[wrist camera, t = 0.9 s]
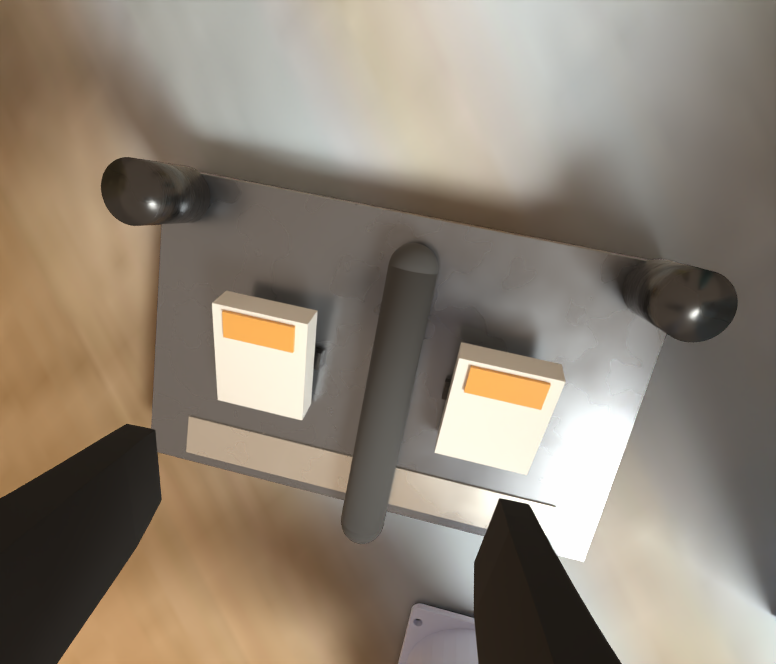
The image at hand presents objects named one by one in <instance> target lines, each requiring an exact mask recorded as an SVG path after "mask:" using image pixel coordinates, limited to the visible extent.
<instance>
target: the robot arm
mask: <svg viewBox="0 0 776 664" xmlns="http://www.w3.org/2000/svg"><path fill="white" fill-rule="evenodd" d="M161 500H162V498H161V487H160V476H159V465H158V453H157V442H156V431H155V429H150V428H145V427H140V426H135V425H130V424H126V425H124V426H122V427H121V428H119V429H117V430H115V431H114V432H112V433H110V434H109V435H107V436H105V437H104V438H102V439H100V440H99V441H97V442H95V443H94V444H92V445H90V446H89V447H87V448H85V449H84V450H82V451H80V452H79V453H77V454H75V455H74V456H72V457H70V458H69V459H67V460H65V461H64V462H62V463H60V464H59V465H57V466H55V467H54V468H52V469H50V470H49V471H47V472H45V473H43V474H42V475H40V476H38V477H37V478H35V479H33V480H32V481H30V482H28V483H26V484H25V485H23V486H21V487H20V488H18V489H16V490H14V491H13V492H11V493H9V494H7V495H6V496H4V497H2V498H0V664H57V663H58V662H59V660H60V659H61V657H62V656H63V654H64V653H65V651H66V650H67V649H68V647H69V646H70V644H71V643H72V641H73V640H74V638H75V637H76V635H77V634H78V632H79V631H80V630H81V628H82V627H83V625H84V624H85V622H86V621H87V619H88V618H89V616H90V615H91V614H92V612H93V611H94V609H95V608H96V606H97V605H98V603H99V602H100V600H101V599H102V598H103V596H104V595H105V593H106V592H107V590H108V589H109V587H110V586H111V584H112V583H113V581H114V580H115V579H116V577H117V576H118V574H119V573H120V571H121V570H122V568H123V567H124V565H125V564H126V562H127V561H128V559H129V558H130V556H131V555H132V553H133V552H134V550H135V549H136V547H137V545H138V544H139V542H140V540H141V538H142V536H143V534H144V533H145V531H146V529H147V527H148V525H149V523H150V521H151V519H152V517H153V515H154V514H155V512H156V510H157V508H158V506H159V504H160V502H161ZM416 619H420V621H419V620H416ZM398 664H622V663H621V662H620V660H619V659H618V657H617V656H616V654H615V653H614V651H613V650H612V648H611V647H610V645H609V643H608V642H607V640H606V639H605V637H604V635H603V634H602V632H601V630H600V629H599V627H598V626H597V624H596V622H595V621H594V619H593V617H592V616H591V614H590V612H589V611H588V609H587V607H586V605H585V604H584V602H583V600H582V599H581V597H580V595H579V594H578V592H577V590H576V589H575V587H574V585H573V583H572V582H571V580H570V578H569V576H568V575H567V573H566V571H565V569H564V567H563V566H562V564H561V562H560V560H559V558H558V556H557V555H556V553H555V551H554V549H553V547H552V545H551V544H550V542H549V540H548V538H547V536H546V534H545V532H544V530H543V528H542V527H541V525H540V523H539V521H538V519H537V517H536V515H535V513H534V511H533V510H532V508H531V506H530V505H529V504H527V503H522V502H517V501H512V500H507V499H502V498H499V500H498V502H497V505H496V508H495V510H494V513H493V515H492V518H491V521H490V523H489V526H488V528H487V531H486V533H485V536H484V539H483V541H482V544H481V546H480V549H479V552H478V554H477V557H476V559H475V562H474V618H472V617H468V616H465V615H461V614H457V613H454V612H450V611H446V610H443V609H439V608H435V607H432V606H428V605H425V604H419V603H418V604H415V605H413V607H412V609H411V613H410V617H409V621H408V625H407V629H406V633H405V637H404V641H403V645H402V649H401V653H400V657H399V661H398Z"/></svg>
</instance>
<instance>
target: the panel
mask: <svg viewBox="0 0 776 664" xmlns="http://www.w3.org/2000/svg"><path fill="white" fill-rule="evenodd" d="M101 192H102V197H103V200H104V203H105V205H106V207H107V208H108V210H109V211H110V213H111V214H112V215H113V216H114V217H115V218H116V219H118V220H119V221H121V222H123V223H125V224H128V225H133V226H141V225H158V224H162V226H161V246H160V266H159V286H158V306H157V326H156V346H155V366H154V386H153V405H152V425H151V429H155V431H156V442H157V452H159V453H163V454H167V455H171V456H175V457H178V458H182V459H186V460H190V461H194V462H198V463H202V464H206V465H210V466H213V467H217V468H221V469H225V470H229V471H233V472H237V473H241V474H244V475H248V476H252V477H256V478H260V479H264V480H268V481H272V482H275V483H279V484H283V485H287V486H291V487H295V488H299V489H303V490H307V491H310V492H314V493H318V494H322V495H326V496H330V497H334V498H338V499H341V500H345V495H346V490H347V484H348V479H349V474H350V468H351V463H352V458H353V452H354V447H355V442H356V436H357V431H358V425H359V420H360V415H361V409H362V404H363V399H364V393H365V388H366V382H367V377H368V372H369V366H370V361H371V356H372V350H373V345H374V340H375V334H376V329H377V323H378V318H379V313H380V307H381V302H382V297H383V291H384V286H385V281H386V275H387V270H388V264H389V261H390V258H391V256H392V254H393V253H394V252H395V251H396V250H397V249H398V248H399V247H401V246H403V245H405V244H408V243H418V244H422V245H424V246H426V247H428V248H429V249H430V250H431V251H432V252H433V253H434V255H435V257H436V259H437V262H438V274H437V279H436V284H435V288H434V293H433V297H432V302H431V307H430V311H429V316H428V321H427V325H426V330H425V335H424V339H423V344H422V349H421V353H420V358H419V362H418V367H417V372H416V376H415V381H414V386H413V390H412V395H411V400H410V404H409V409H408V414H407V418H406V423H405V427H404V432H403V437H402V441H401V446H400V451H399V455H398V460H397V465H396V469H395V474H394V479H393V483H392V488H391V493H390V497H389V502H388V506H387V511H388V512H392V513H396V514H400V515H404V516H407V517H411V518H415V519H419V520H423V521H427V522H431V523H435V524H438V525H442V526H446V527H450V528H454V529H458V530H462V531H466V532H469V533H473V534H477V535H481V536H485V533H486V531H487V528H488V526H489V523H490V521H491V518H492V515H493V513H494V510H495V508H496V505H497V502H498V500H499V498H502V499H507V500H512V501H517V502H522V503H527V504H529V505H530V506H531V508H532V510H533V511H534V513H535V515H536V517H537V519H538V521H539V523H540V525H541V527H542V528H543V530H544V532H545V534H546V536H547V538H548V540H549V542H550V544H551V545H552V547H553V549H554V551H555V553H556V555H559V556H563V557H566V558H570V559H574V560H578V561H582V562H584V560H585V557H586V554H587V551H588V549H589V546H590V543H591V540H592V538H593V535H594V532H595V529H596V527H597V524H598V521H599V518H600V516H601V513H602V510H603V507H604V505H605V502H606V499H607V496H608V494H609V491H610V488H611V485H612V483H613V480H614V477H615V474H616V472H617V469H618V466H619V463H620V461H621V458H622V455H623V452H624V450H625V447H626V444H627V441H628V439H629V436H630V433H631V430H632V428H633V425H634V422H635V419H636V417H637V414H638V411H639V408H640V406H641V403H642V400H643V397H644V395H645V392H646V389H647V386H648V384H649V381H650V378H651V375H652V373H653V370H654V367H655V364H656V362H657V359H658V356H659V353H660V351H661V348H662V345H663V342H664V340H665V337H666V334H668V335H670V336H672V337H673V338H675V339H678V340H680V341H684V342H701V341H705V340H708V339H711V338H713V337H715V336H717V335H718V334H720V333H721V332H722V331H724V330H725V329H726V328H727V327H728V325H729V324H730V323H731V321H732V320H733V318H734V316H735V313H736V310H737V302H738V300H737V294H736V291H735V289H734V287H733V285H732V284H731V282H730V281H729V280H728V279H727V278H725V277H724V276H723V275H721V274H719V273H716V272H713V271H709V270H705V269H702V268H698V267H694V266H690V265H686V264H682V263H678V262H674V261H670V260H666V259H651V260H649V259H644V258H639V257H634V256H628V255H623V254H618V253H613V252H608V251H603V250H598V249H593V248H588V247H582V246H577V245H572V244H567V243H562V242H557V241H552V240H547V239H541V238H536V237H531V236H526V235H521V234H516V233H511V232H506V231H501V230H495V229H490V228H485V227H480V226H475V225H470V224H465V223H460V222H454V221H449V220H444V219H439V218H434V217H429V216H424V215H419V214H414V213H408V212H403V211H398V210H393V209H388V208H383V207H378V206H373V205H368V204H362V203H357V202H352V201H347V200H342V199H337V198H332V197H327V196H321V195H316V194H311V193H306V192H301V191H296V190H291V189H286V188H281V187H275V186H270V185H265V184H260V183H255V182H250V181H245V180H240V179H234V178H229V177H224V176H219V175H214V174H209V173H204V172H199V171H197V170H195V169H193V168H191V167H188V166H183V165H176V164H170V163H163V162H157V161H150V160H143V159H137V158H130V157H124V158H119V159H117V160H115V161H113V162H112V163H111V164H110V165H109V166H108V167H107V168H106V170H105V172H104V174H103V177H102V181H101ZM225 291H230V292H235V293H240V294H244V295H249V296H253V297H258V298H262V299H267V300H271V301H276V302H281V303H285V304H290V305H294V306H299V307H303V308H308V309H312V310H317V325H316V339H315V354H314V368H313V382H312V397H311V405H310V407H309V409H308V410H307V412H306V414H305V416H304V418H303V420H298V419H294V418H290V417H286V416H282V415H277V414H273V413H269V412H265V411H261V410H257V409H253V408H249V407H245V406H240V405H236V404H232V403H228V402H224V401H220V400H218V396H217V379H216V363H215V346H214V330H213V313H212V302H214V301H215V300H216V299H217V298H218V297H219V296H221V295H222V294H223V293H224V292H225ZM461 342H463V343H467V344H472V345H476V346H481V347H485V348H490V349H495V350H499V351H504V352H508V353H513V354H517V355H522V356H526V357H531V358H536V359H540V360H545V361H549V362H554V363H558V364H562V368H563V373H564V377H565V384H564V387H563V389H562V392H561V394H560V397H559V399H558V401H557V404H556V406H555V409H554V411H553V413H552V416H551V418H550V421H549V423H548V425H547V428H546V430H545V433H544V435H543V438H542V440H541V442H540V445H539V447H538V450H537V452H536V454H535V457H534V459H533V462H532V464H531V466H530V469H529V471H528V474H527V475H524V474H520V473H516V472H512V471H508V470H503V469H499V468H495V467H491V466H487V465H483V464H479V463H475V462H471V461H466V460H462V459H458V458H454V457H450V456H446V455H442V454H438V453H435V446H436V440H437V433H438V430H439V426H440V422H441V418H442V414H443V410H444V406H445V402H446V399H447V395H448V391H449V387H450V383H451V379H452V375H453V372H454V368H455V364H456V360H457V356H458V352H459V348H460V344H461Z"/></svg>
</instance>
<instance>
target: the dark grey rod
mask: <svg viewBox="0 0 776 664" xmlns="http://www.w3.org/2000/svg"><path fill="white" fill-rule="evenodd" d="M437 274H438V262H437V259H436V257H435V255H434V253H433V252H432V251H431V250H430V249H429V248H428V247H426V246H424V245H422V244H418V243H408V244H405V245H403V246H401V247H399V248H398V249H397V250H396V251H395V252H394V253H393V254H392V256H391V258H390V261H389V264H388V270H387V275H386V281H385V286H384V291H383V297H382V302H381V307H380V313H379V318H378V323H377V329H376V334H375V340H374V345H373V350H372V356H371V361H370V366H369V372H368V377H367V382H366V388H365V393H364V399H363V404H362V409H361V415H360V420H359V425H358V431H357V436H356V442H355V447H354V452H353V458H352V463H351V468H350V474H349V479H348V484H347V490H346V495H345V501H344V506H343V511H342V517H341V525H342V529H343V532H344V534H345V535H346V536H347V537H348V538H349V539H350V540H351V541H353V542H355V543H359V544H365V543H369V542H371V541H373V540H374V539H376V538H377V537H378V536H379V534H380V533H381V531H382V528H383V525H384V520H385V516H386V511H387V506H388V502H389V497H390V493H391V488H392V483H393V479H394V474H395V469H396V465H397V460H398V455H399V451H400V446H401V441H402V437H403V432H404V427H405V423H406V418H407V414H408V409H409V404H410V400H411V395H412V390H413V386H414V381H415V376H416V372H417V367H418V362H419V358H420V353H421V349H422V344H423V339H424V335H425V330H426V325H427V321H428V316H429V311H430V307H431V302H432V297H433V293H434V288H435V284H436V279H437Z"/></svg>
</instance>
